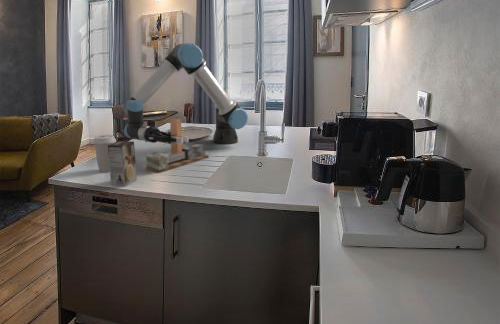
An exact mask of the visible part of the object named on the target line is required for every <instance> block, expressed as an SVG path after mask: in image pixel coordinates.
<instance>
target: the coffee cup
mask: <svg viewBox="0 0 500 324" xmlns="http://www.w3.org/2000/svg"><path fill="white" fill-rule="evenodd" d="M116 142H117V139H116V138H115V136H114V135H112V134H111V135H110V134H105V135H104V134H101V135H96V136H94V137H93V140H92V143H93V146H94V149H95V155H96V161H97V165H98V170H99V172H100V173H110V166H109V155H108V145H111V144H113V143H116Z"/></svg>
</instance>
